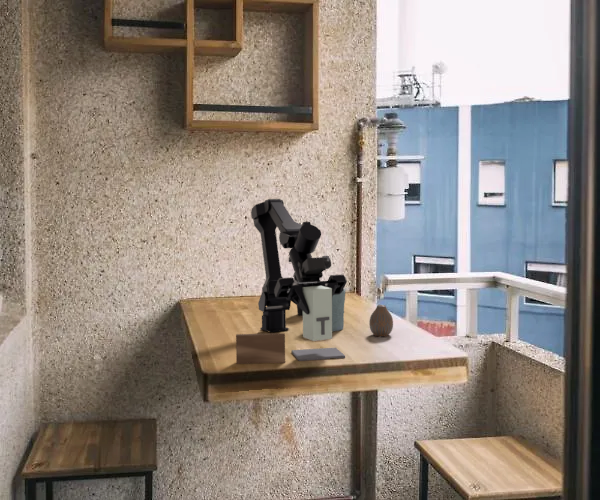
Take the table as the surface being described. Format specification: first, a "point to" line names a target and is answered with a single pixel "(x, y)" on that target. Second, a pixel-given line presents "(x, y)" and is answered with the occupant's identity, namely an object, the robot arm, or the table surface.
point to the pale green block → (318, 313)
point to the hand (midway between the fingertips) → (319, 312)
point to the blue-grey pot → (338, 311)
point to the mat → (317, 354)
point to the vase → (381, 321)
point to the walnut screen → (260, 348)
